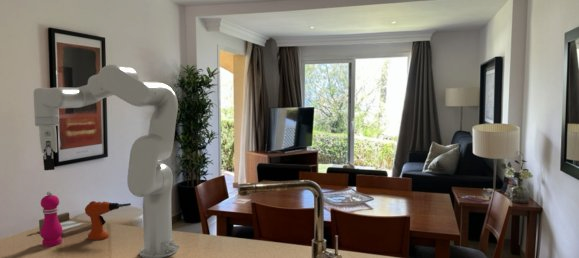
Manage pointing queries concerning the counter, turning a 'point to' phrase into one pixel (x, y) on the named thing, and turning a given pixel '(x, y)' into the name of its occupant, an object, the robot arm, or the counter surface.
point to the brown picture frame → (69, 225)
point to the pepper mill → (50, 221)
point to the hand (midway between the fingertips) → (48, 167)
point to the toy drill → (99, 217)
